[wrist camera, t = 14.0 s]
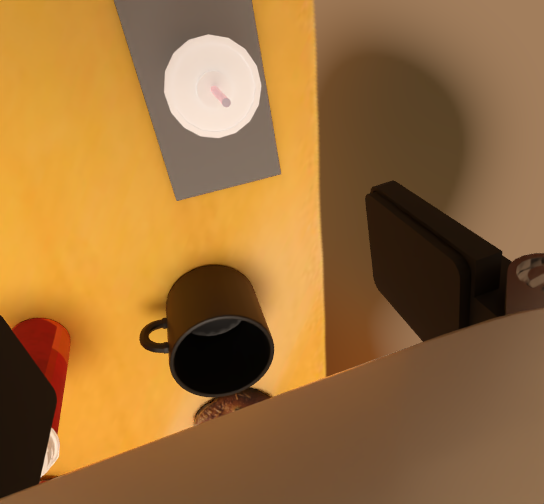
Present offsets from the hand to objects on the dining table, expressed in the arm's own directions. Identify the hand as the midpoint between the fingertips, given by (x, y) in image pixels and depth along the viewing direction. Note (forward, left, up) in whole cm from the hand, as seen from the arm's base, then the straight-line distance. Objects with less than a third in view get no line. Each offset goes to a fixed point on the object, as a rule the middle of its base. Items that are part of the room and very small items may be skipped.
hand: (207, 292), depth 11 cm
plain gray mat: (-2, +3, -29) cm, 29 cm away
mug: (+20, -3, -29) cm, 36 cm away
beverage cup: (-2, +3, -28) cm, 29 cm away
